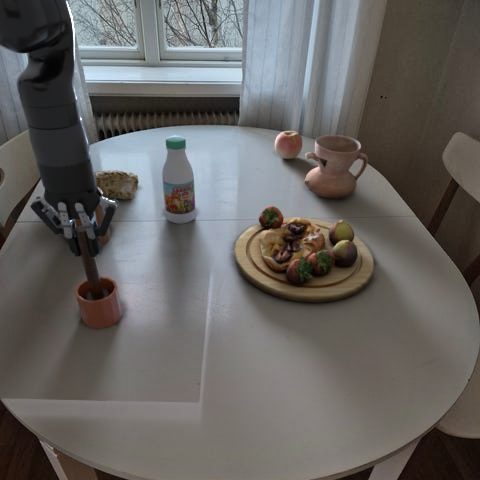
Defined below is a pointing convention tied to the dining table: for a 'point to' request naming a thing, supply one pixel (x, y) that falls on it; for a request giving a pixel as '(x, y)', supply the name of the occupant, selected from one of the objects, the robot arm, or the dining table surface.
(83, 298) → the cup
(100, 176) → the seeded bread loaf
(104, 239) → the jar
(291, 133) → the apple
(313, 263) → the wooden plate
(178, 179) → the milk bottle
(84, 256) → the brush
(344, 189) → the ceramic jug
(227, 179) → the dining table surface
